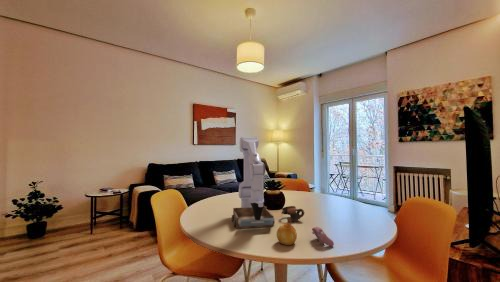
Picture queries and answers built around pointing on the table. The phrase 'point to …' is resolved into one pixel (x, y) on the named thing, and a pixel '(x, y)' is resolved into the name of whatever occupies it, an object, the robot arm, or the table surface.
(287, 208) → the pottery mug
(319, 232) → the pink animal figurine
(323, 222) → the table surface
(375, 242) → the table surface
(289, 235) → the fruit
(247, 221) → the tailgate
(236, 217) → the cart bed
